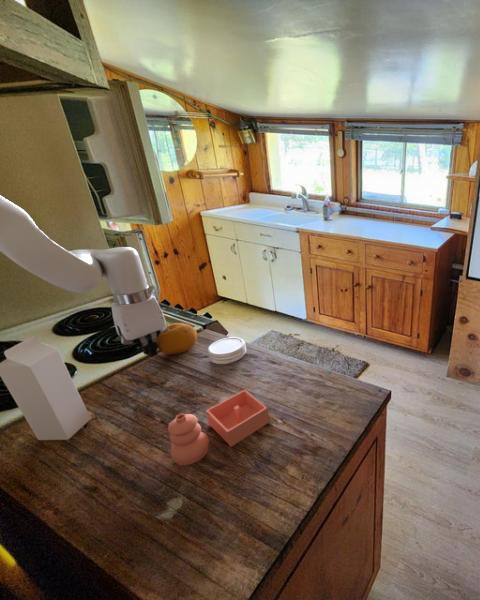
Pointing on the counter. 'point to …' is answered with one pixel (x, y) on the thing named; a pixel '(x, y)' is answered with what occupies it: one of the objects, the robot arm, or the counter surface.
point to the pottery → (216, 426)
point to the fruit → (176, 338)
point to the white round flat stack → (227, 350)
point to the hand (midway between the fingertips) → (151, 354)
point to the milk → (43, 390)
